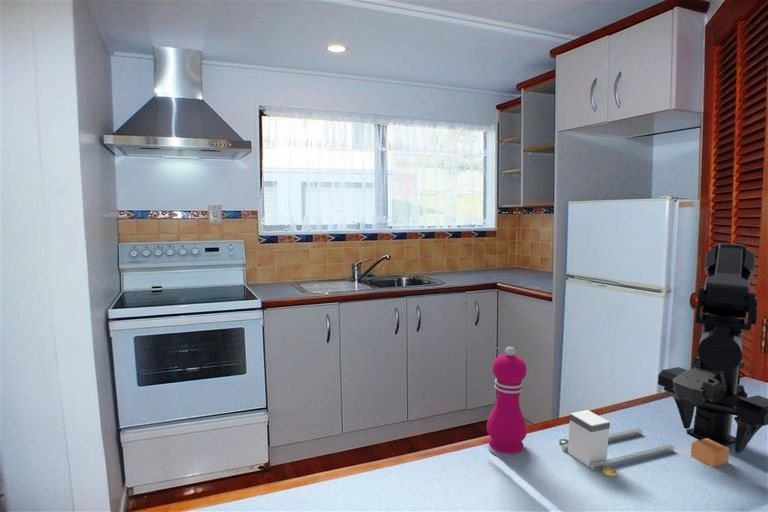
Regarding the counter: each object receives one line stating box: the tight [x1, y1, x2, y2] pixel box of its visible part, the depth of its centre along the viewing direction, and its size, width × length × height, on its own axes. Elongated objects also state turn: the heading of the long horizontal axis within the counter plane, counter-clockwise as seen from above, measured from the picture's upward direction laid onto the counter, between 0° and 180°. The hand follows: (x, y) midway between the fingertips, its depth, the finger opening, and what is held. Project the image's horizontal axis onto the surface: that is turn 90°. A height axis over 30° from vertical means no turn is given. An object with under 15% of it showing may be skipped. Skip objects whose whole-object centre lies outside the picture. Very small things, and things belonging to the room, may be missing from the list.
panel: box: [558, 427, 675, 478], centre depth 90 cm, size 20×14×2 cm
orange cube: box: [690, 438, 730, 468], centre depth 87 cm, size 4×4×4 cm
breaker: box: [567, 409, 611, 468], centre depth 87 cm, size 4×5×8 cm
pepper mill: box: [486, 346, 528, 458], centre depth 90 cm, size 7×7×20 cm
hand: (711, 439), depth 87 cm, fingers open, 9 cm apart
